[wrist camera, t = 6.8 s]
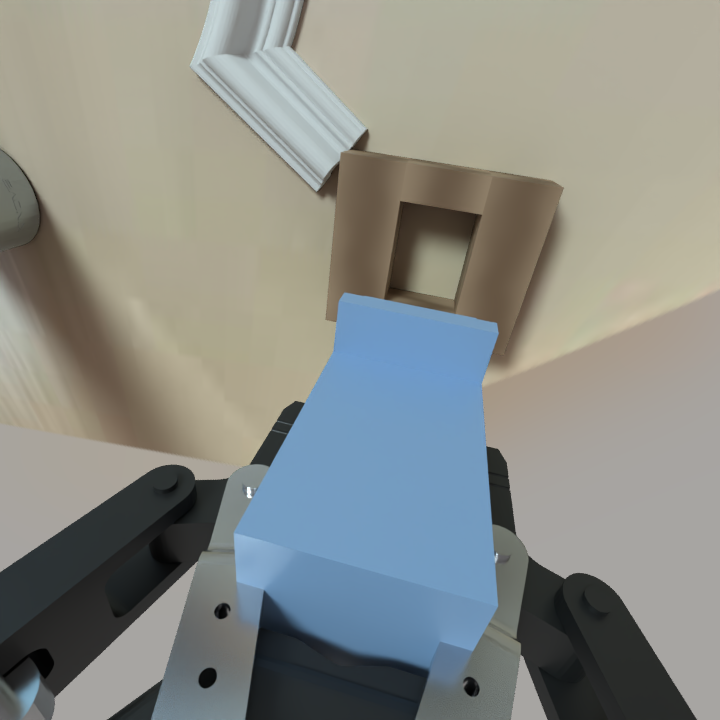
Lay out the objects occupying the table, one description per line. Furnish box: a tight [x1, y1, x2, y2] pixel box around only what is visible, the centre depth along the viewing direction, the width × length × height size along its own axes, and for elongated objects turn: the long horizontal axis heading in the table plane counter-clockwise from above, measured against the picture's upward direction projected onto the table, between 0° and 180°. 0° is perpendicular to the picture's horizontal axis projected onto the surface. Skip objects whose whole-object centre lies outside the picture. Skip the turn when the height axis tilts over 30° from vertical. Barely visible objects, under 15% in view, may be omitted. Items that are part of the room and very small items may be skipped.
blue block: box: [234, 292, 499, 678], centre depth 12 cm, size 4×9×10 cm, turn 173°
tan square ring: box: [326, 149, 564, 356], centre depth 30 cm, size 14×12×4 cm
